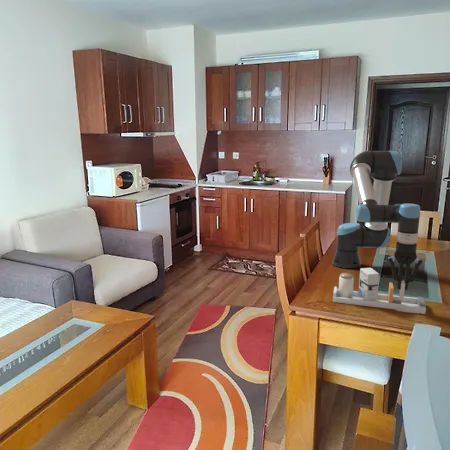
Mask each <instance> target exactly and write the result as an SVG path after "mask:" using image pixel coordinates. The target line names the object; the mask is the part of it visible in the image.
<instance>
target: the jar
mask: <svg viewBox="0 0 450 450" xmlns="http://www.w3.org/2000/svg"><path fill="white" fill-rule="evenodd" d="M338 278H339V279H338V289H339V292H338V297H343V298H352V299H353V291H354V283H355V282H354V281H355V277H354V275H353V273H350V272H341V273H340V275H339V277H338Z"/></svg>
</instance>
